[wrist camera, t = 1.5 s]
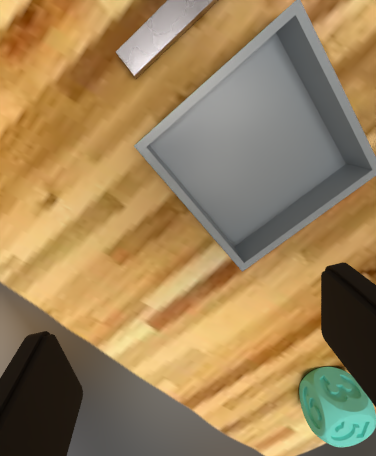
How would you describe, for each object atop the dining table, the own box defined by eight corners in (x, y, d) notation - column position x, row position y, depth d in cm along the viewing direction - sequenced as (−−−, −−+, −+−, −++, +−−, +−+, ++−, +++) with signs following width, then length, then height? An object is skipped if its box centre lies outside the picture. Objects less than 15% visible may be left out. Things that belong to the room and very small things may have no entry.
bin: (274, 19, 26) (299, -3, 21) (350, 163, 32) (382, 170, 27) (138, 142, 29) (133, 145, 24) (231, 251, 35) (242, 271, 30)
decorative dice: (337, 395, 48) (368, 445, 41) (295, 399, 48) (320, 450, 40) (347, 364, 45) (383, 410, 38) (303, 367, 45) (331, 416, 37)
